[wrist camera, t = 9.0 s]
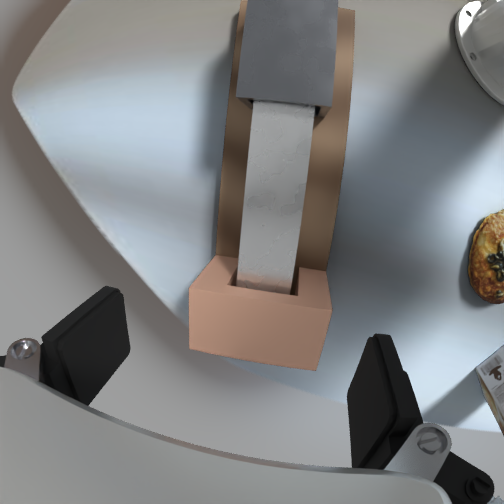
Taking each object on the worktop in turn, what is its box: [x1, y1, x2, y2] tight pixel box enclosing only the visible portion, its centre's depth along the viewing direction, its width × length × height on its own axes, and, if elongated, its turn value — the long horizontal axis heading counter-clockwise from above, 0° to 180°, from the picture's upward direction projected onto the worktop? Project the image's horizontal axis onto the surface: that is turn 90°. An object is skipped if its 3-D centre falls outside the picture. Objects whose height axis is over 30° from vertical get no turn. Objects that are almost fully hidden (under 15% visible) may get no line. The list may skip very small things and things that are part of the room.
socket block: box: [189, 255, 333, 371], centre depth 24 cm, size 6×10×7 cm, turn 84°
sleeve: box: [236, 0, 338, 118], centre depth 18 cm, size 10×6×6 cm, turn 174°
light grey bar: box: [236, 100, 315, 295], centre depth 22 cm, size 18×4×4 cm, turn 174°
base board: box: [216, 0, 355, 296], centre depth 24 cm, size 30×10×2 cm, turn 174°
